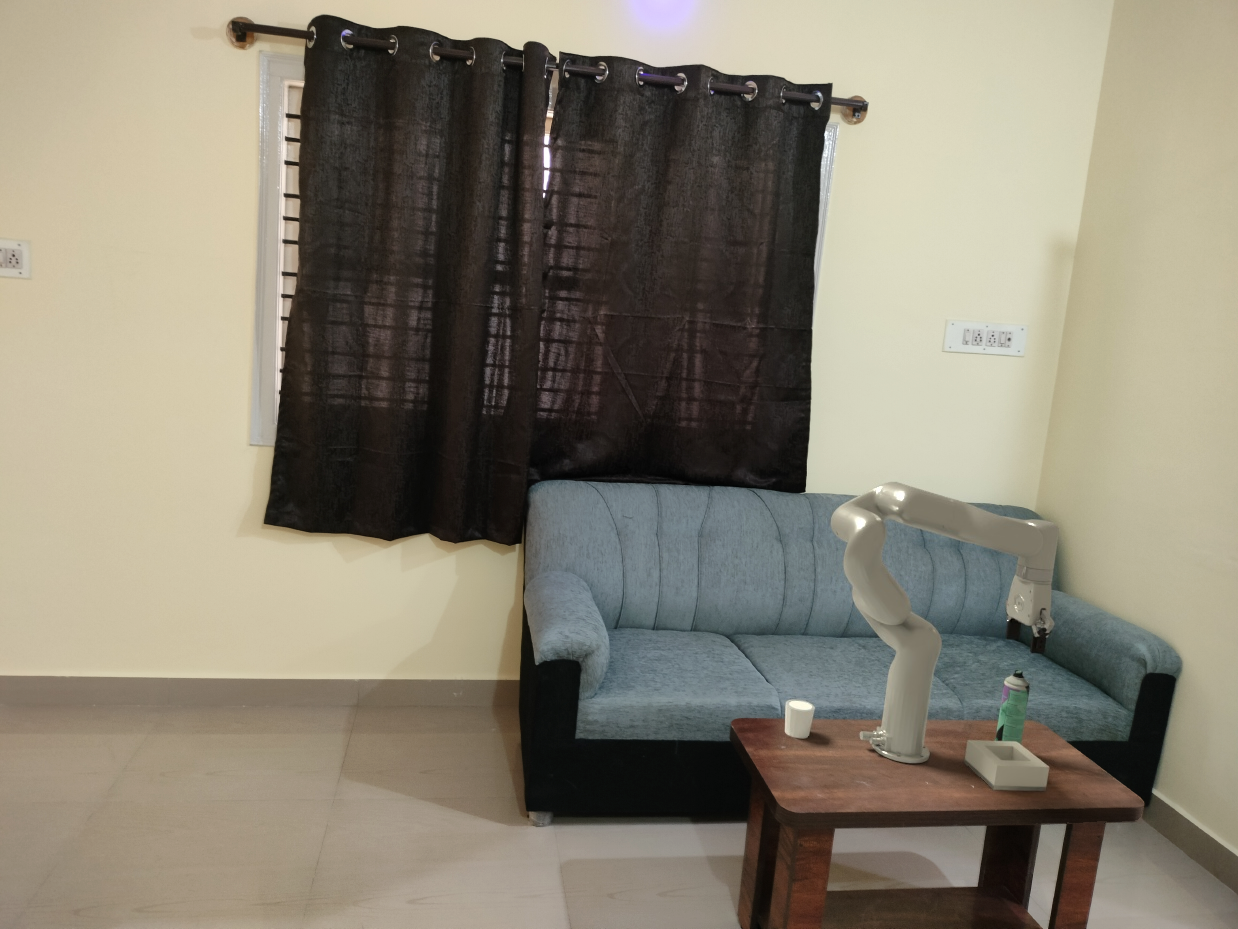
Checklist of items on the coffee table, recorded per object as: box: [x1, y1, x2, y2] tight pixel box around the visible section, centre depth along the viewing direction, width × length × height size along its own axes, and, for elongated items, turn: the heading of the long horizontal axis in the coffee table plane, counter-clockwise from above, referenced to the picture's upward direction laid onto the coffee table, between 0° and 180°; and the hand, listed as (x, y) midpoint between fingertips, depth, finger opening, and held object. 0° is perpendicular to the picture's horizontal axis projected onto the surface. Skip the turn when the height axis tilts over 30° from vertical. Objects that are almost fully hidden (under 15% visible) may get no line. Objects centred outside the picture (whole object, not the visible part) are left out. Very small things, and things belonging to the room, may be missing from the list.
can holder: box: [963, 739, 1050, 792], centre depth 189 cm, size 12×12×6 cm
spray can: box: [994, 669, 1031, 745], centre depth 200 cm, size 6×6×20 cm
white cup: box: [784, 699, 816, 739], centre depth 202 cm, size 7×7×7 cm
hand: (1024, 645), depth 199 cm, fingers open, 9 cm apart
